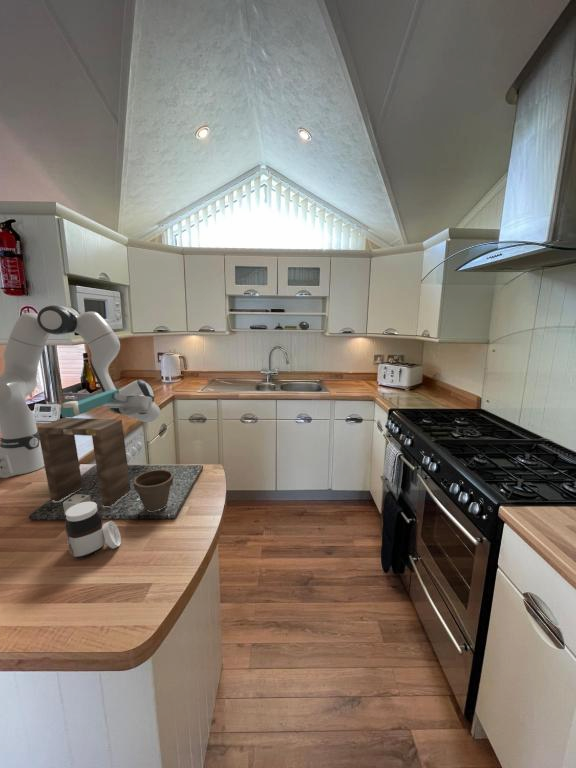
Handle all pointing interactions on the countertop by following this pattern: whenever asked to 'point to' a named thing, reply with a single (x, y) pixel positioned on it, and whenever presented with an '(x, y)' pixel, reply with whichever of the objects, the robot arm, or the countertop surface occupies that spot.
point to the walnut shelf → (64, 457)
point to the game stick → (86, 404)
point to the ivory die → (75, 501)
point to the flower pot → (154, 488)
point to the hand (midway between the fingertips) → (107, 395)
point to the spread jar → (89, 531)
